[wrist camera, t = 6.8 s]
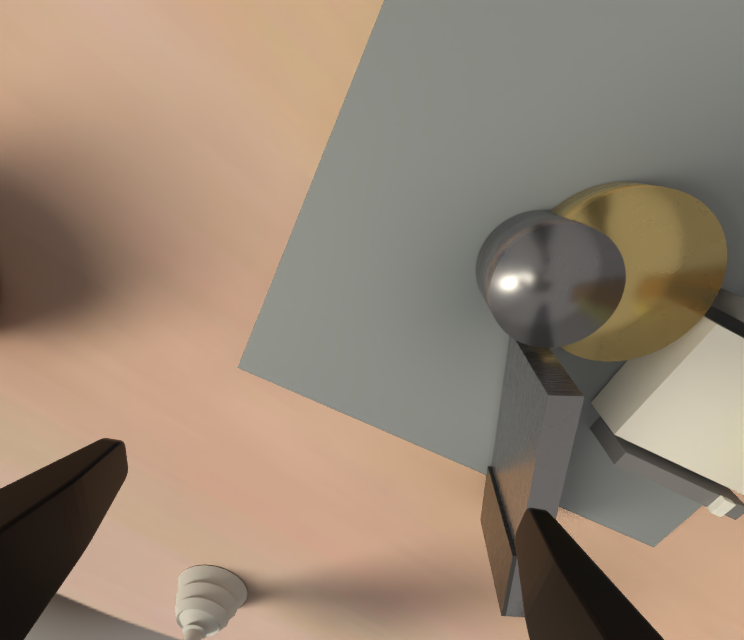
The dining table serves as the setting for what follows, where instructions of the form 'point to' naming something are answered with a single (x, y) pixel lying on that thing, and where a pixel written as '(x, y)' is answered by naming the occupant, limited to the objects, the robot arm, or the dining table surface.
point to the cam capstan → (581, 328)
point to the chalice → (207, 600)
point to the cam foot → (685, 403)
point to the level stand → (501, 218)
